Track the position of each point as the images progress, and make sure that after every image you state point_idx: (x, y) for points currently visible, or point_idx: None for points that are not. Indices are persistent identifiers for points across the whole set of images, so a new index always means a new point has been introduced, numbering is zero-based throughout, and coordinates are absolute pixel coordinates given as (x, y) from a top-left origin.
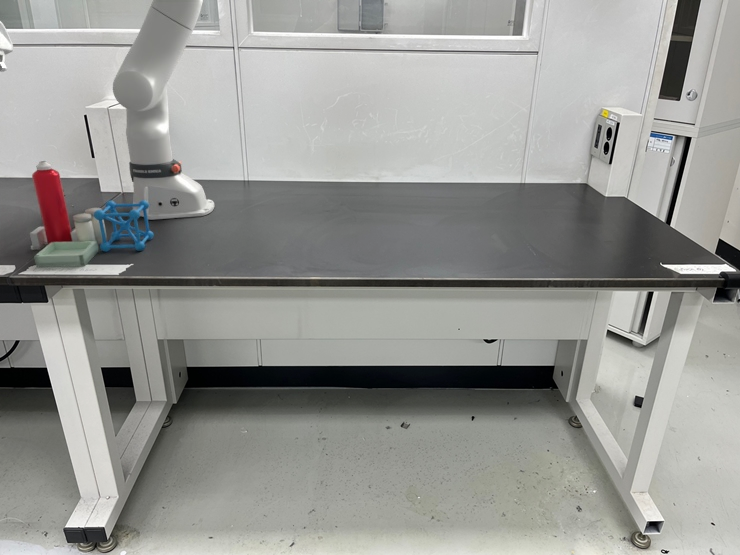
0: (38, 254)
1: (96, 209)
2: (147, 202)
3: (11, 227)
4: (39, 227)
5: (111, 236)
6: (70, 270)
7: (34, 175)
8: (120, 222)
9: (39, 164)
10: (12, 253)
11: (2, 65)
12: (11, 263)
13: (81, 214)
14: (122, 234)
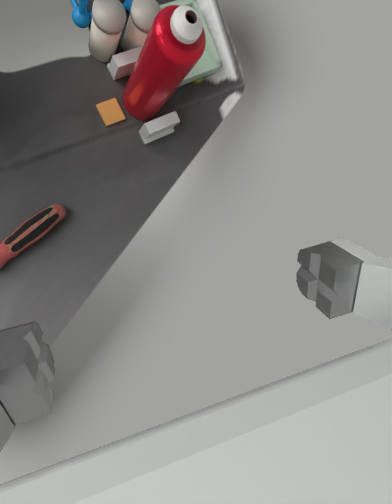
0: (215, 64)
1: (103, 8)
2: None
3: (109, 256)
4: (152, 129)
5: (89, 22)
6: (206, 17)
7: (205, 43)
8: None
9: (199, 22)
10: (192, 147)
11: (14, 342)
12: (217, 117)
13: (141, 18)
14: (76, 2)
